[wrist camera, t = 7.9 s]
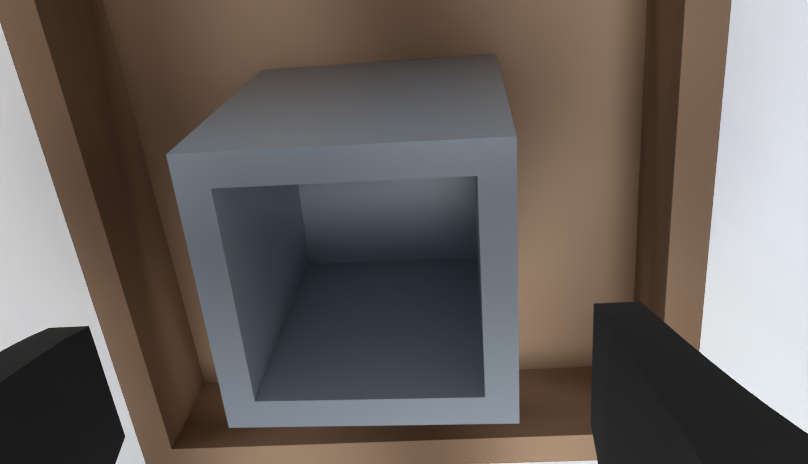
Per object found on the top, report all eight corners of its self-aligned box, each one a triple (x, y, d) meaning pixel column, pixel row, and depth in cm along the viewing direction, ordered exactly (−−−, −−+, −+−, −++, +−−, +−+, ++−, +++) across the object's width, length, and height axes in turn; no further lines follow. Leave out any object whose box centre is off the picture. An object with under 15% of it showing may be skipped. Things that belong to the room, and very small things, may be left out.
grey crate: (294, 274, 19) (229, 427, 13) (262, 69, 16) (166, 154, 11) (500, 266, 18) (519, 423, 13) (496, 54, 16) (516, 136, 10)
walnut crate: (193, 389, 22) (149, 473, 18) (57, -102, 16) (-41, -102, 13) (652, 369, 20) (689, 457, 17) (684, -175, 15) (749, -194, 11)
